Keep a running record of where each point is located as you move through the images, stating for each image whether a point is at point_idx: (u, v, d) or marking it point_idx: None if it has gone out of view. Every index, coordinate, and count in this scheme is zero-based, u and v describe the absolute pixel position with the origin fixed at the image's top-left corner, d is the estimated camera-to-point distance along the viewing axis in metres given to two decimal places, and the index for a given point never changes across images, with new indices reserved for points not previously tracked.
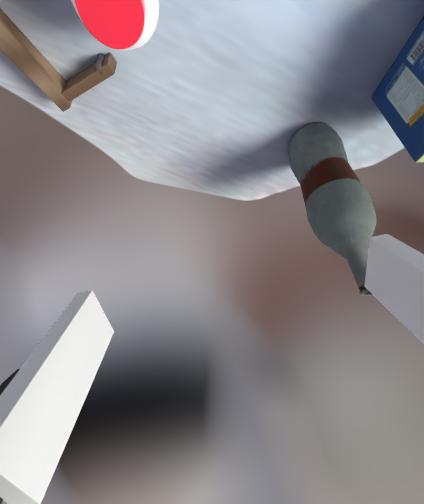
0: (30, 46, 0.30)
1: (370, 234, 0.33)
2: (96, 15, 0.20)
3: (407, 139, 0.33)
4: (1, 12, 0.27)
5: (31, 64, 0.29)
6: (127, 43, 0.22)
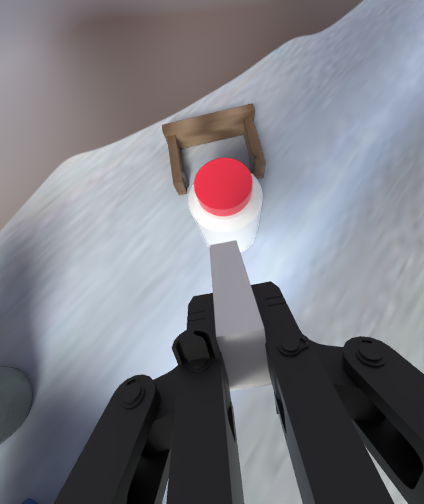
0: (209, 138, 0.36)
1: None
2: (222, 169, 0.23)
3: None
4: (231, 135, 0.37)
5: (201, 126, 0.34)
6: (197, 185, 0.23)
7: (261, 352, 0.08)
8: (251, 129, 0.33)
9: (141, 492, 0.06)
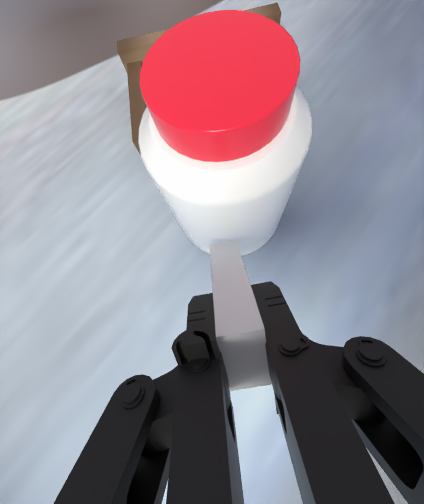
0: None
1: None
2: (217, 35, 0.09)
3: None
4: None
5: None
6: (148, 73, 0.08)
7: (261, 352, 0.08)
8: None
9: (141, 492, 0.06)
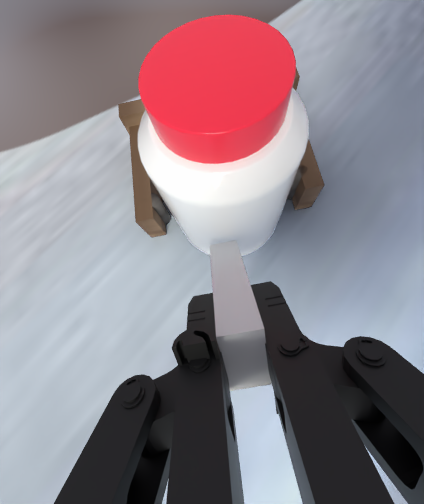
0: None
1: None
2: (214, 40, 0.09)
3: None
4: None
5: None
6: (147, 78, 0.09)
7: (261, 352, 0.08)
8: None
9: (141, 492, 0.06)
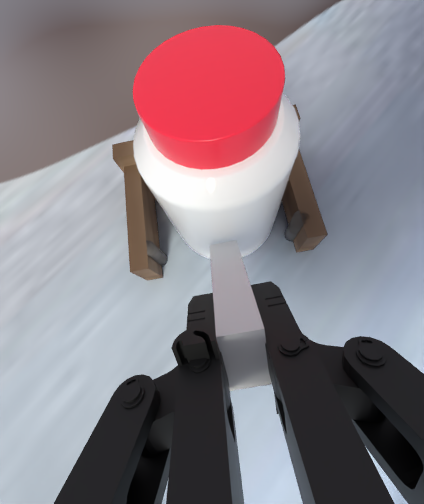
0: None
1: None
2: (204, 50, 0.09)
3: None
4: None
5: None
6: (141, 90, 0.09)
7: (261, 352, 0.08)
8: None
9: (141, 492, 0.06)
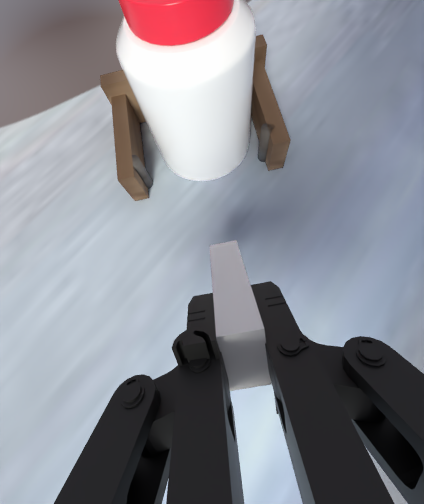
0: None
1: None
2: None
3: None
4: None
5: None
6: None
7: (261, 352, 0.08)
8: (260, 80, 0.18)
9: (141, 492, 0.06)
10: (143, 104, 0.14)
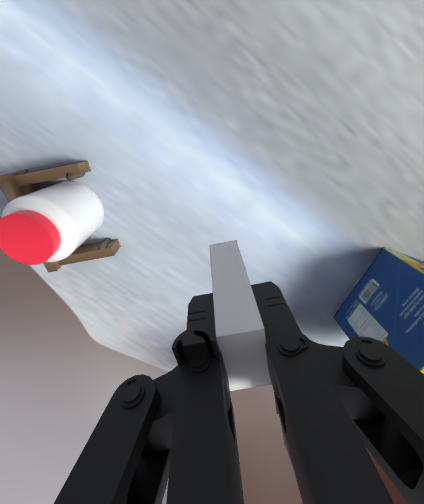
0: None
1: None
2: (10, 242, 0.24)
3: None
4: None
5: None
6: (35, 261, 0.25)
7: (261, 352, 0.08)
8: (30, 178, 0.29)
9: (141, 492, 0.06)
10: (78, 246, 0.29)
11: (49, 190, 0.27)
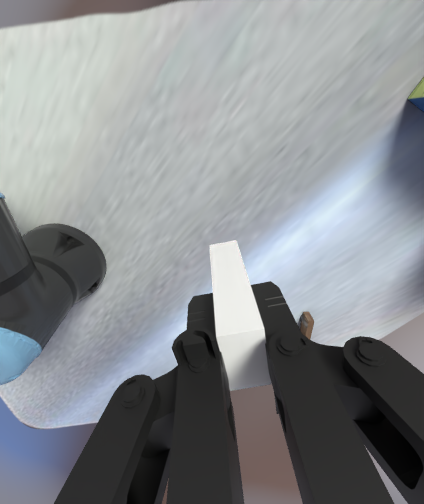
0: None
1: None
2: None
3: None
4: None
5: None
6: None
7: (261, 352, 0.08)
8: None
9: (141, 492, 0.06)
10: None
11: None
